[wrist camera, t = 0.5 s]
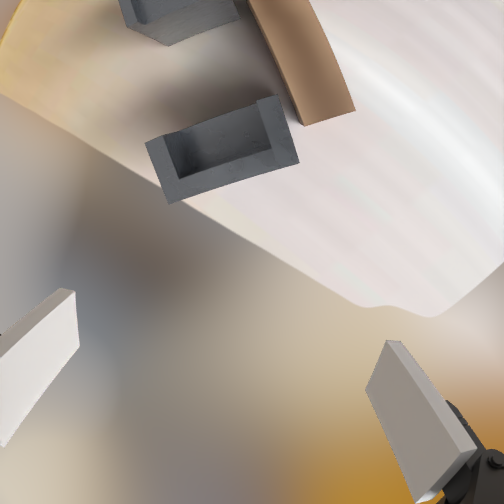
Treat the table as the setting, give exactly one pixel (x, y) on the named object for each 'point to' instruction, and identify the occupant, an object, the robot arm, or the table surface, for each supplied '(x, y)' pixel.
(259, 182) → the table surface
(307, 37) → the walnut rail
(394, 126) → the table surface
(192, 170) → the cup bracket stand
